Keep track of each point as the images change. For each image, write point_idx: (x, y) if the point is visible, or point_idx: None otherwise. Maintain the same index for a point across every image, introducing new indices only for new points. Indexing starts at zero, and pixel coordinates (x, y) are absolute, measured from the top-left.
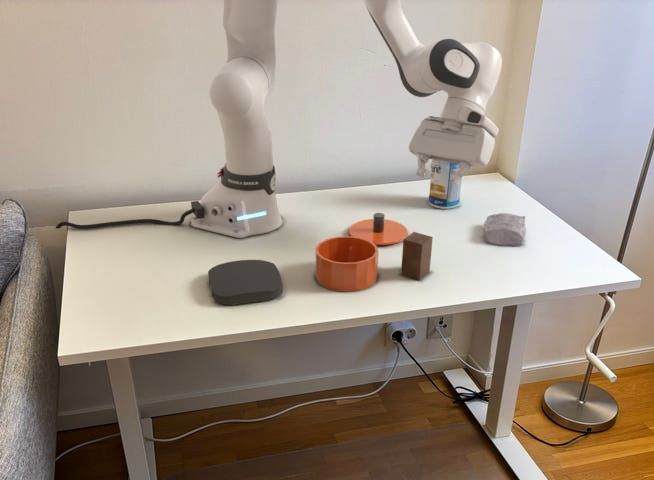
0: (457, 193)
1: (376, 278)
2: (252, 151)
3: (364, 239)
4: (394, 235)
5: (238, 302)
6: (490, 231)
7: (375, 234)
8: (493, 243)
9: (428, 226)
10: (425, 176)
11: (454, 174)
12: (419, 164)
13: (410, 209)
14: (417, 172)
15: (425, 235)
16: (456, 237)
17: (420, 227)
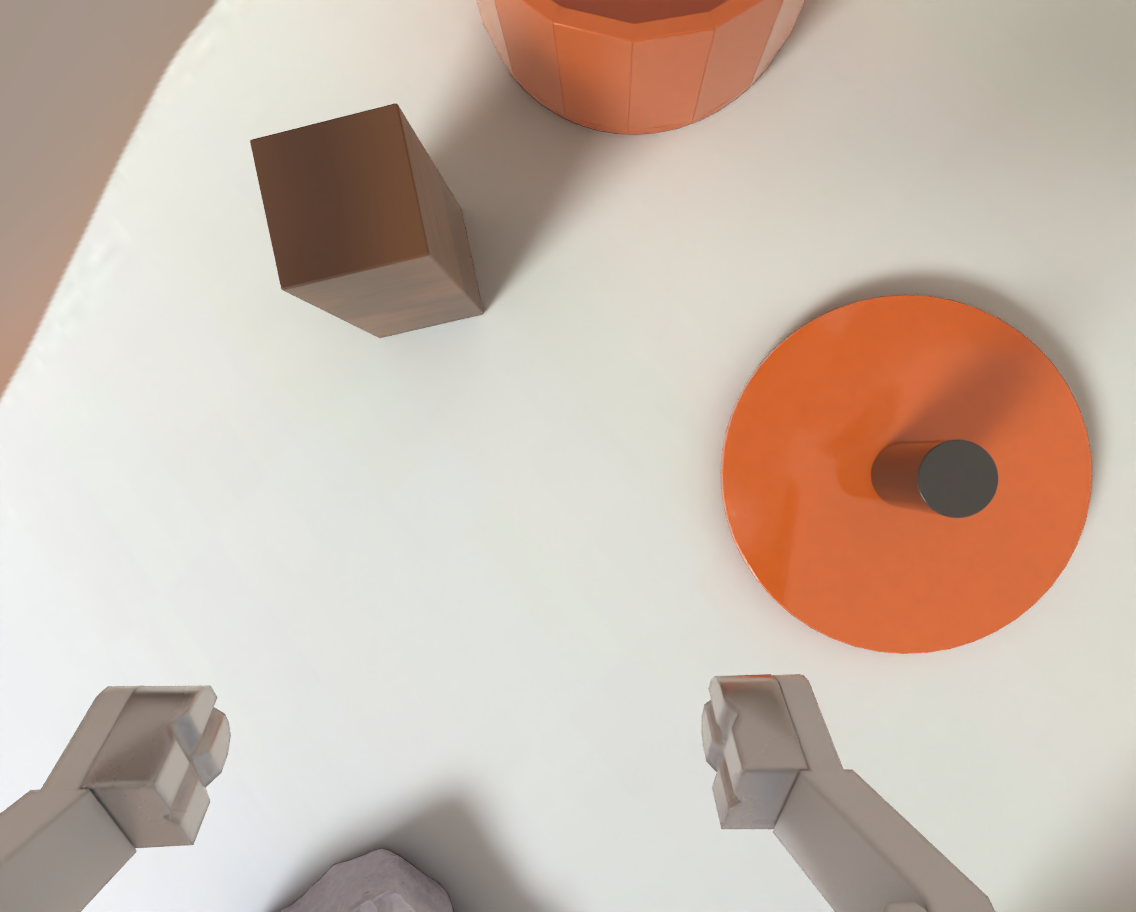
0: None
1: (509, 70)
2: None
3: (677, 25)
4: (785, 495)
5: None
6: (362, 897)
7: (876, 420)
8: (358, 857)
9: None
10: (704, 744)
11: (98, 769)
12: (859, 801)
13: (1022, 905)
14: (795, 687)
15: (330, 268)
16: (555, 779)
17: None
